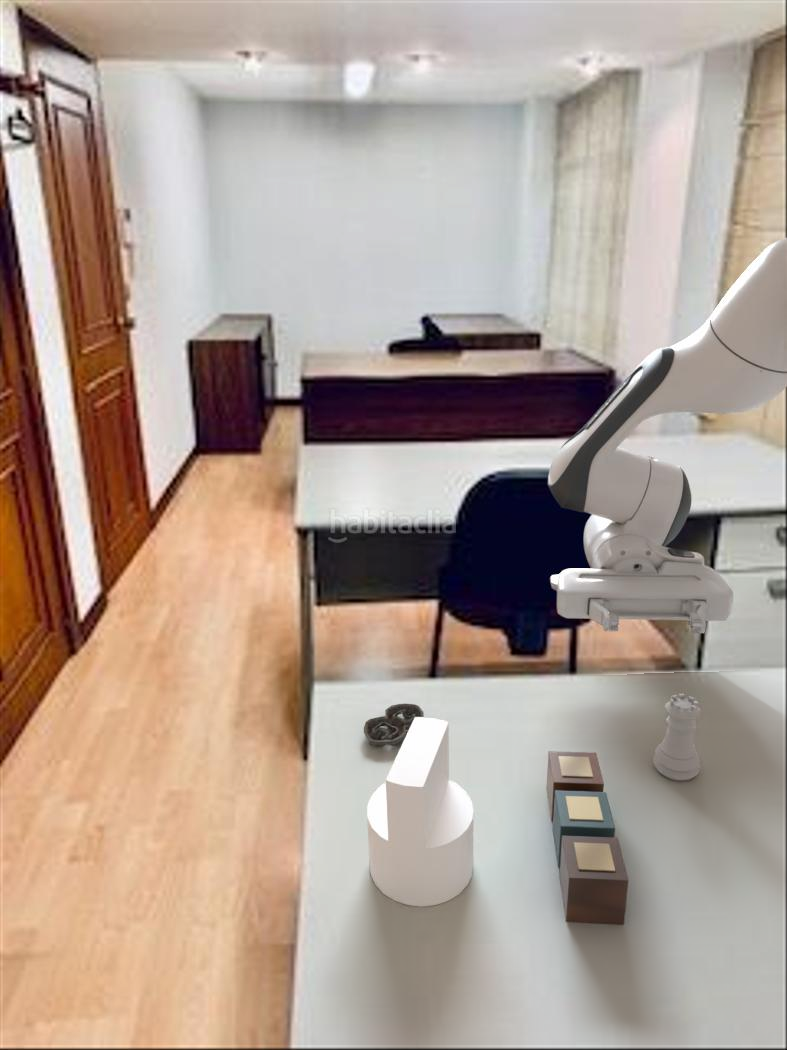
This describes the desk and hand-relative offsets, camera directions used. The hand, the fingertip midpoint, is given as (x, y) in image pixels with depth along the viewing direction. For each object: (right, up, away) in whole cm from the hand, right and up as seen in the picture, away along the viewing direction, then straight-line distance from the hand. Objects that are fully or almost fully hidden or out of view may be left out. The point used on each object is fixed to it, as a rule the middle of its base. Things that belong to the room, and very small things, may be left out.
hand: (655, 626), depth 85 cm
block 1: (-12, -15, -12) cm, 23 cm away
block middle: (-13, -17, -18) cm, 28 cm away
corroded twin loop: (-29, -11, -1) cm, 31 cm away
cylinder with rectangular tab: (-27, -18, -19) cm, 37 cm away
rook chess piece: (-1, -13, -8) cm, 16 cm away
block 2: (-13, -19, -23) cm, 33 cm away
